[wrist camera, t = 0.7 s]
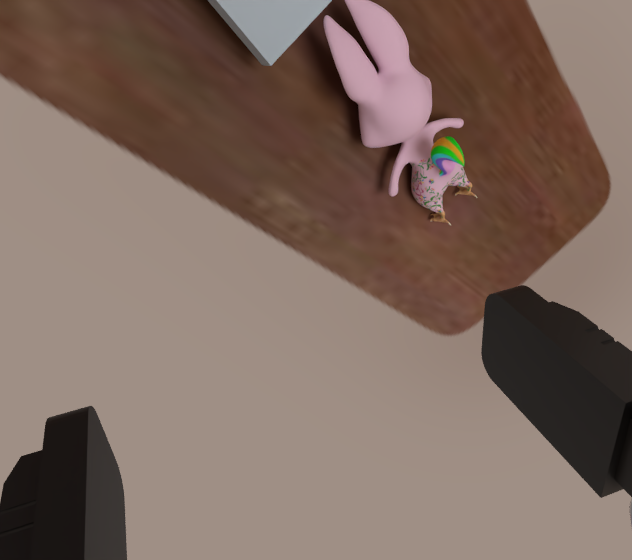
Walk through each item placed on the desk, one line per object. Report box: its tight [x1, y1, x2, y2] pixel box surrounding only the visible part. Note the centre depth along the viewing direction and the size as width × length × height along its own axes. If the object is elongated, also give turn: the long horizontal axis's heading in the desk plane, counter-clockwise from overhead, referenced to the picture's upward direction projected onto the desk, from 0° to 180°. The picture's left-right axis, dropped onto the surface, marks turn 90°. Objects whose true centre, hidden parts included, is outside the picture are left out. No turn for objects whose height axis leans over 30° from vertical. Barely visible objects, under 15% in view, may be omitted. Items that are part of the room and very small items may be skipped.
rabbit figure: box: [323, 0, 477, 225], centre depth 31 cm, size 6×6×15 cm
